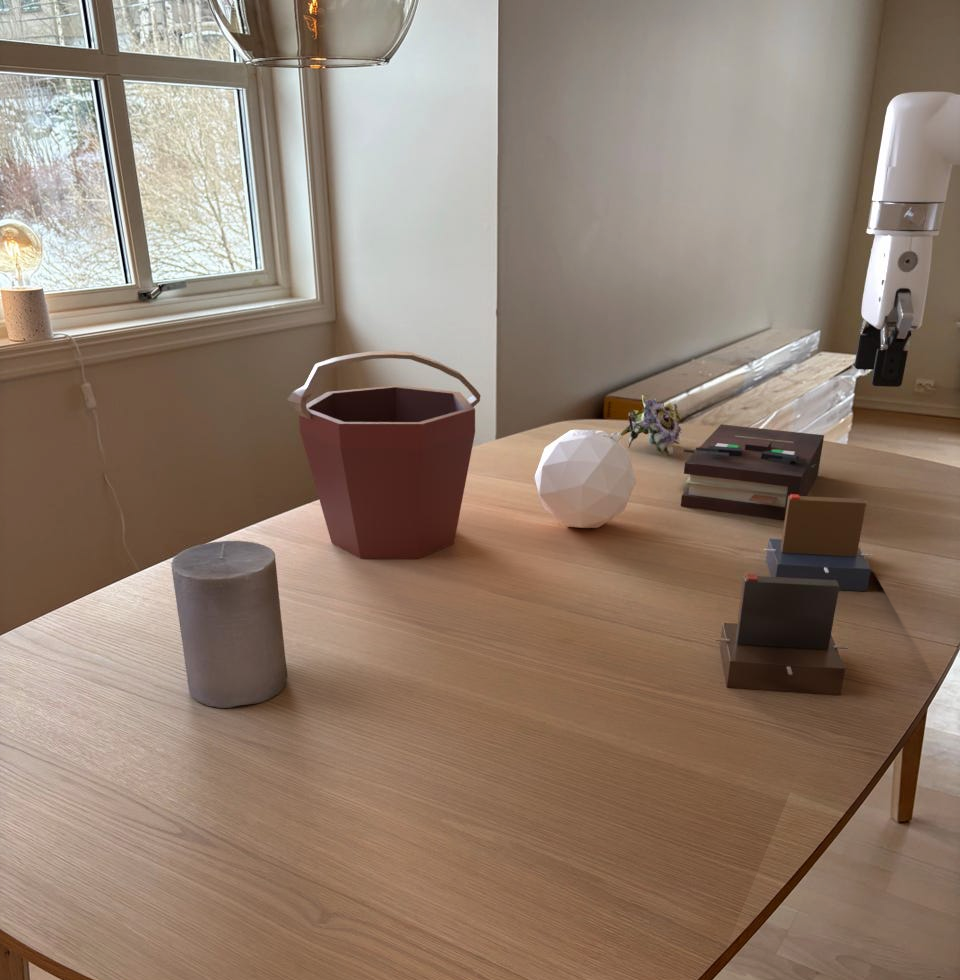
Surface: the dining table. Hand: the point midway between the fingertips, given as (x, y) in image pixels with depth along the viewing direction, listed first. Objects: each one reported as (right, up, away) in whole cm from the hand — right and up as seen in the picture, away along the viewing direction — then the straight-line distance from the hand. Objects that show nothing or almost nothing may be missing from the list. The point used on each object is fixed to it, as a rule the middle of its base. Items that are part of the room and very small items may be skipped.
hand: (876, 377), depth 116 cm
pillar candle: (-71, -36, -17) cm, 81 cm away
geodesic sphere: (-32, -15, +26) cm, 44 cm away
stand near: (-16, -34, -14) cm, 40 cm away
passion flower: (-16, +3, +61) cm, 63 cm away
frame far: (-4, -20, +7) cm, 22 cm away
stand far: (-4, -23, +9) cm, 25 cm away
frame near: (-16, -31, -16) cm, 39 cm away
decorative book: (-3, -7, +40) cm, 41 cm away
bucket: (-59, -17, +21) cm, 65 cm away
